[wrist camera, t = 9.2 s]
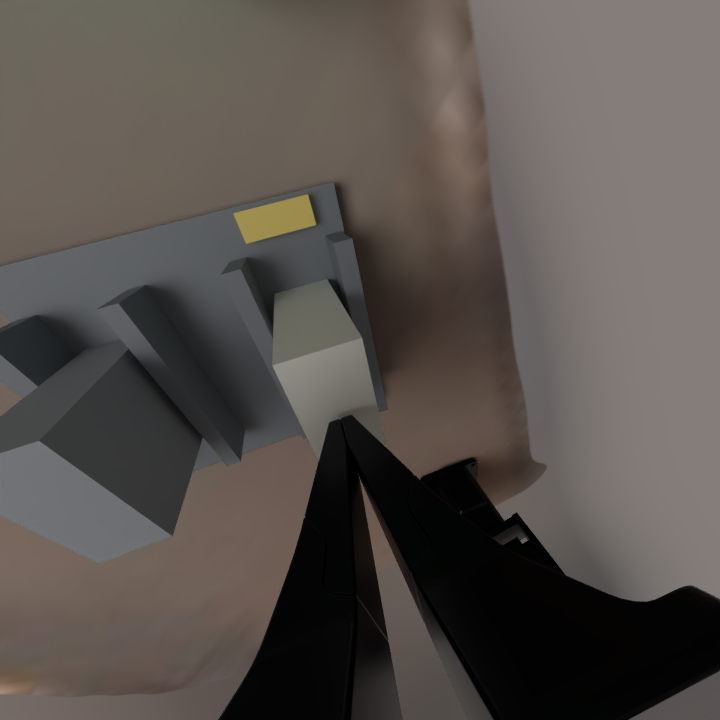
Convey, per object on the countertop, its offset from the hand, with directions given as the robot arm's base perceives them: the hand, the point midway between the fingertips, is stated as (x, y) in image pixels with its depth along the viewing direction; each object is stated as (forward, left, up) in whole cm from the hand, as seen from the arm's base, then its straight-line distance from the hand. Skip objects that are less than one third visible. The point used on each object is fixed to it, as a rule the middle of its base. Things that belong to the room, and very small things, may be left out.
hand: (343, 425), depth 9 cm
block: (0, 0, -7) cm, 7 cm away
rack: (0, +5, -8) cm, 9 cm away
